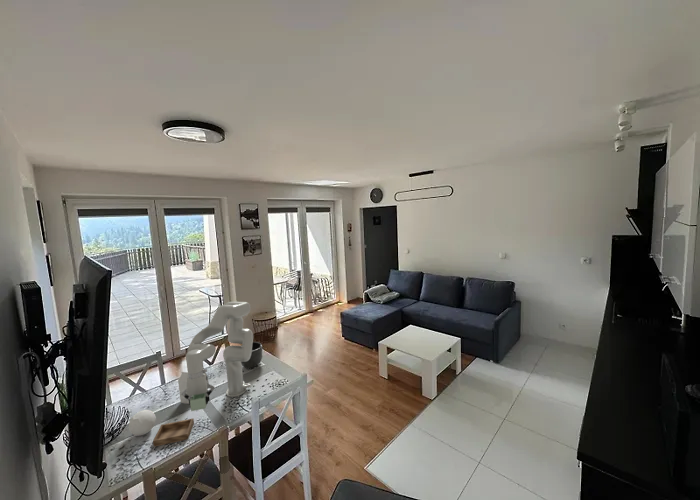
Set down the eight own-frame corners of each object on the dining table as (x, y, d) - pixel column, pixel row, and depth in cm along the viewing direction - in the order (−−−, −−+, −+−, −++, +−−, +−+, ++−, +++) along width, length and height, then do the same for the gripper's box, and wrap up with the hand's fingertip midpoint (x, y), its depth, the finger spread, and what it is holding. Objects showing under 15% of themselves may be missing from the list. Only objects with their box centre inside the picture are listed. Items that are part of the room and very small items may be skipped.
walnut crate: (194, 423, 162) (193, 418, 162) (188, 439, 151) (187, 433, 150) (162, 429, 158) (161, 424, 158) (153, 446, 147) (152, 441, 146)
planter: (268, 362, 225) (266, 343, 223) (252, 374, 210) (250, 353, 208) (251, 359, 232) (249, 340, 230) (234, 369, 217) (233, 350, 215)
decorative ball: (125, 438, 153) (121, 417, 152) (147, 422, 164) (144, 403, 163) (140, 443, 149) (137, 422, 148) (162, 427, 160) (159, 407, 159)
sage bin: (208, 400, 160) (207, 390, 159) (205, 408, 153) (204, 398, 152) (194, 402, 158) (193, 392, 157) (191, 411, 151) (189, 400, 150)
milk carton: (190, 404, 179) (187, 375, 176) (180, 403, 180) (177, 375, 178) (198, 397, 186) (195, 369, 183) (189, 395, 187) (185, 368, 185)
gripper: (215, 366, 159) (218, 396, 161) (179, 372, 154) (183, 402, 156) (212, 374, 151) (215, 404, 154) (175, 380, 147) (179, 412, 149)
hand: (199, 403), depth 155 cm, fingers closed on sage bin, 7 cm apart
